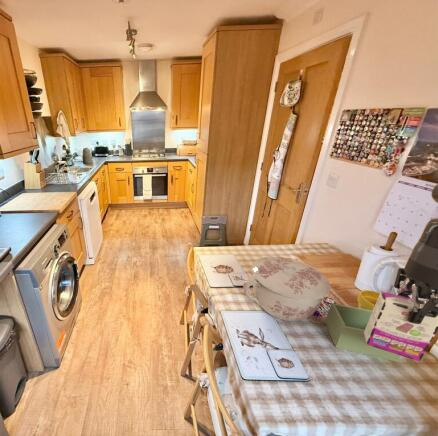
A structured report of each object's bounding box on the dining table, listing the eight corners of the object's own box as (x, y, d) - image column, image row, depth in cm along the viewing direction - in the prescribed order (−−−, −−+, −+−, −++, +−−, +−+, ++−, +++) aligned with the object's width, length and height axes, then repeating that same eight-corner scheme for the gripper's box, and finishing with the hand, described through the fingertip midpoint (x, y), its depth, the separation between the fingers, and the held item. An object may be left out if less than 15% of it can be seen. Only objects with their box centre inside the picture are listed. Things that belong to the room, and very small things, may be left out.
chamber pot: (319, 299, 101) (332, 259, 93) (319, 347, 81) (336, 301, 72) (251, 278, 116) (258, 242, 108) (237, 314, 95) (243, 273, 87)
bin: (378, 333, 85) (388, 313, 81) (396, 362, 75) (409, 340, 71) (324, 322, 90) (331, 302, 86) (335, 347, 80) (343, 326, 76)
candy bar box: (412, 347, 66) (438, 303, 60) (420, 362, 62) (448, 317, 56) (361, 332, 71) (380, 290, 65) (365, 344, 68) (385, 301, 61)
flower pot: (391, 321, 89) (401, 301, 86) (380, 333, 85) (390, 313, 81) (358, 304, 98) (366, 286, 94) (347, 314, 93) (354, 295, 89)
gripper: (482, 281, 48) (445, 339, 55) (432, 248, 60) (406, 298, 67) (434, 275, 51) (404, 331, 57) (395, 244, 63) (374, 293, 69)
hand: (405, 313), depth 62 cm, fingers closed on candy bar box, 5 cm apart
